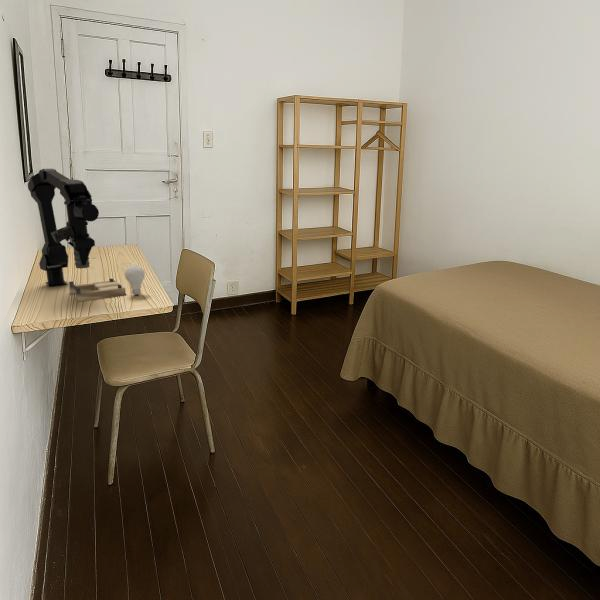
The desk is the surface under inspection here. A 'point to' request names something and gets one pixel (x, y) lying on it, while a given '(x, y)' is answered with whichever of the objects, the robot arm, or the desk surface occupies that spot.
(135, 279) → the light bulb
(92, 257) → the desk surface
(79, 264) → the stacked grey discs
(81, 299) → the wooden handle frame
